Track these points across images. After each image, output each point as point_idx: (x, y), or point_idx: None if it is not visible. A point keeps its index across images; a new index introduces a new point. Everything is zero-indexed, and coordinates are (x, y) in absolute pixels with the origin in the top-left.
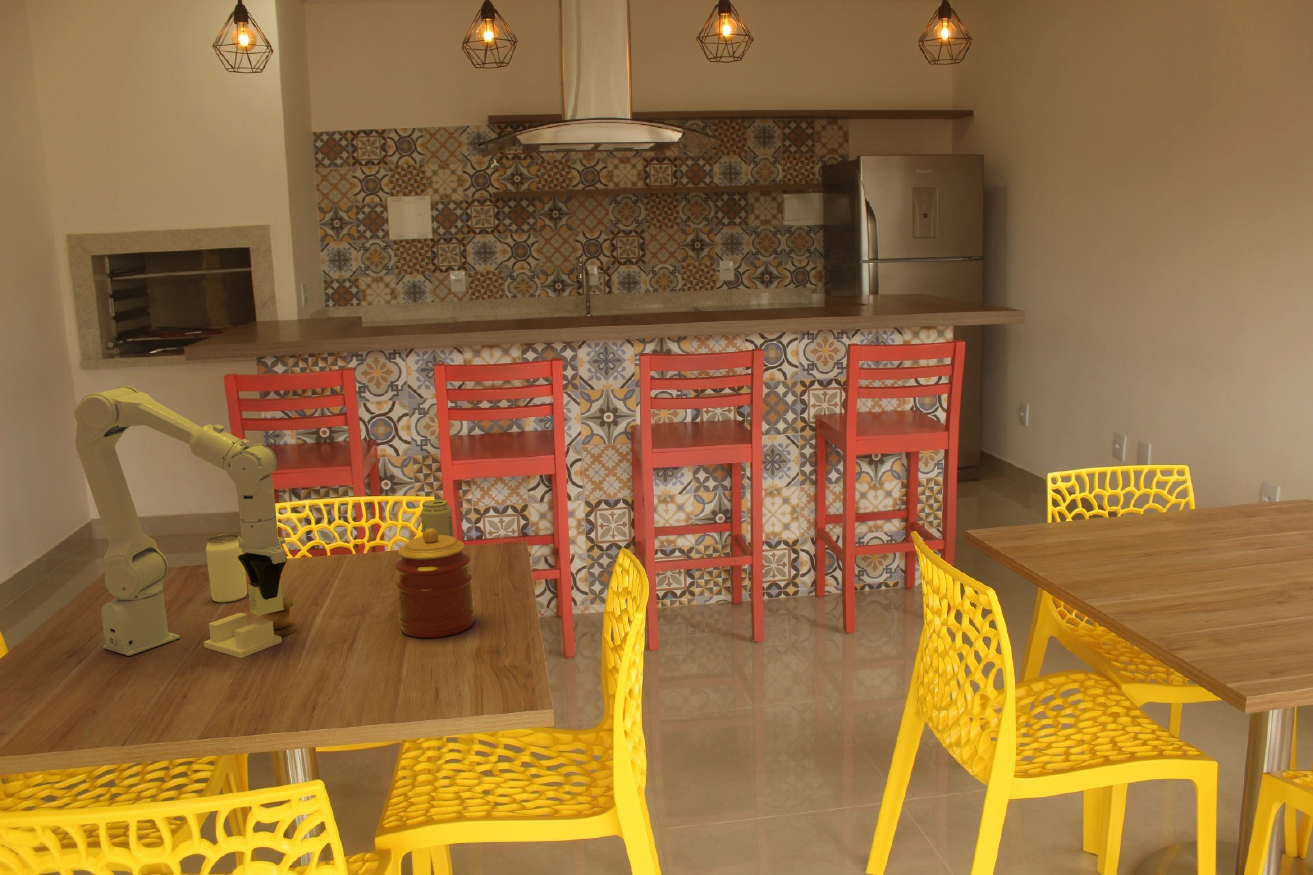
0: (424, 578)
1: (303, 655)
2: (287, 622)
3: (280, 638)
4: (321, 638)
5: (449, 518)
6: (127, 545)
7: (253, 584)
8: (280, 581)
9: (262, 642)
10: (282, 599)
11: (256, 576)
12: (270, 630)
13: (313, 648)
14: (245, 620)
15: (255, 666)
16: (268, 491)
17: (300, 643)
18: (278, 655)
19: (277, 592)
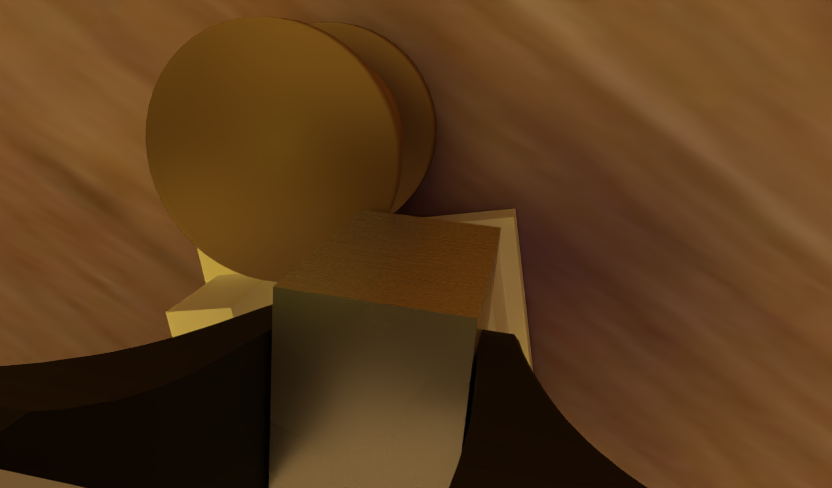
0: None
1: (828, 252)
2: (393, 107)
3: (515, 220)
4: (679, 22)
5: None
6: None
7: None
8: (475, 326)
9: (509, 328)
10: (493, 253)
11: (233, 485)
12: (497, 290)
13: (786, 154)
14: (249, 307)
15: (710, 468)
16: None
17: (631, 154)
18: (684, 327)
19: (521, 349)
